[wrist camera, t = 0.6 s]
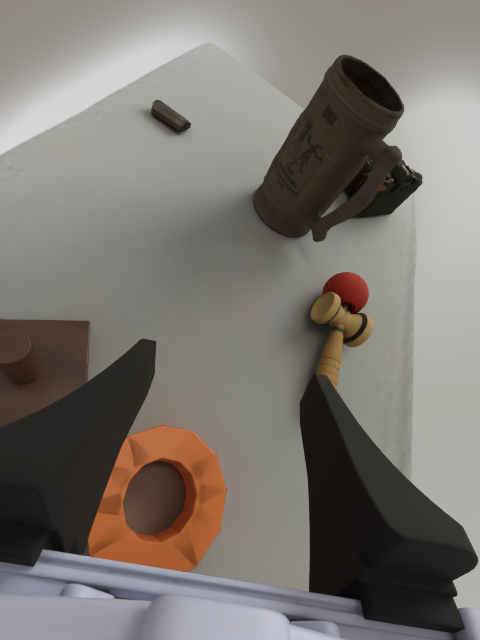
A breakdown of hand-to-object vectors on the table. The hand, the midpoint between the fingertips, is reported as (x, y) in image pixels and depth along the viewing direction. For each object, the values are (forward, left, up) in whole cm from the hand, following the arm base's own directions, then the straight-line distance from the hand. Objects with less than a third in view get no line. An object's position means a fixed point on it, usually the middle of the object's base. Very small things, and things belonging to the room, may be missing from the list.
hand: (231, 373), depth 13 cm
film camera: (+50, -26, -17) cm, 59 cm away
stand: (+1, +12, -17) cm, 21 cm away
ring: (-6, -1, -17) cm, 18 cm away
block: (+44, +12, -17) cm, 49 cm away
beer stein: (+34, -11, -17) cm, 40 cm away
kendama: (+15, -18, -17) cm, 29 cm away
